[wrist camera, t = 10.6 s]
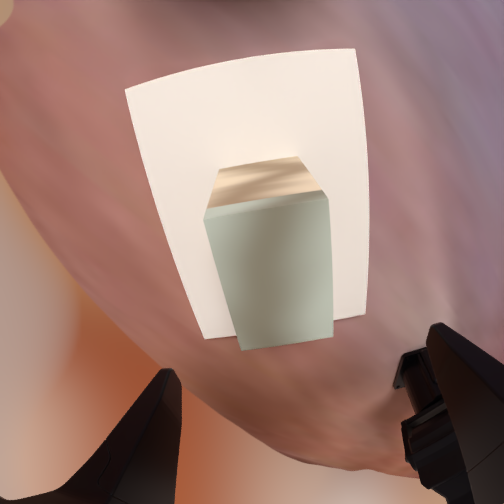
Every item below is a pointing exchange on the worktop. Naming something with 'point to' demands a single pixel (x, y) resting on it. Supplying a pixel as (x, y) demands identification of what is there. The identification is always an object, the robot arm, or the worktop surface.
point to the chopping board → (256, 158)
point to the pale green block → (272, 252)
